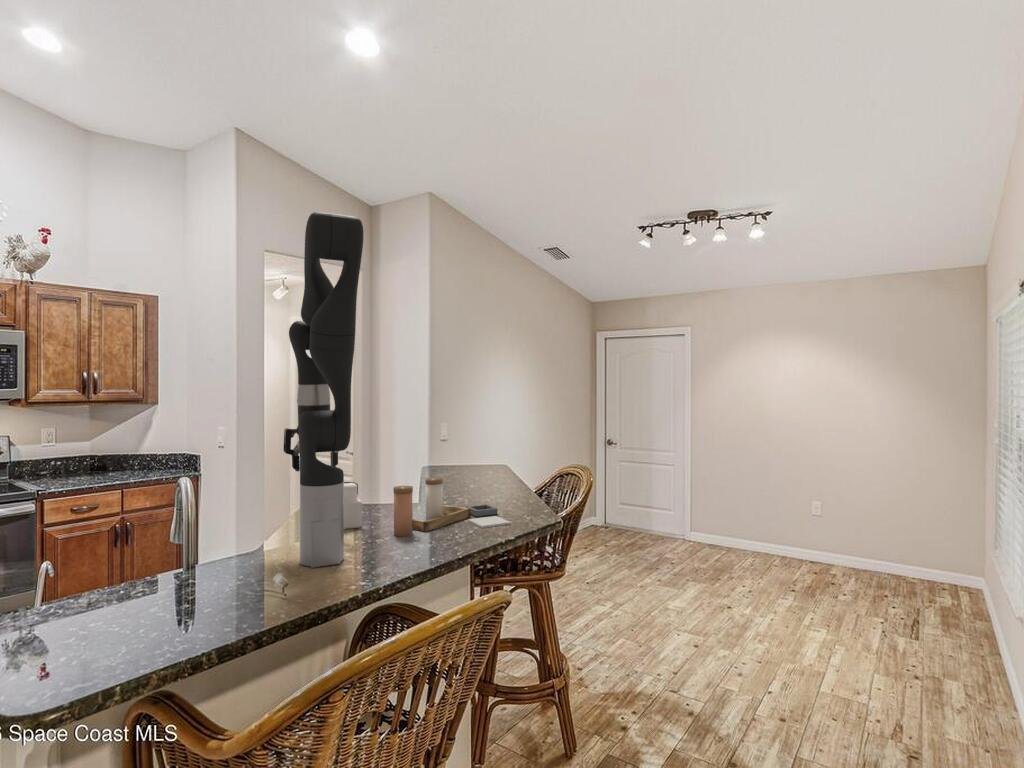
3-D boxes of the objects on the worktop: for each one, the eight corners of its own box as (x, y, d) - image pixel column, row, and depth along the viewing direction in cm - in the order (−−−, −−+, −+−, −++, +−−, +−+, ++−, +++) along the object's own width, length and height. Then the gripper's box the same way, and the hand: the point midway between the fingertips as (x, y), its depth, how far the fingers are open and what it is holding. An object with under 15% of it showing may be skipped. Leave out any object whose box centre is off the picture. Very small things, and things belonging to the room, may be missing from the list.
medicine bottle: (331, 524, 161) (331, 481, 162) (357, 522, 164) (357, 479, 165) (335, 530, 155) (335, 485, 155) (362, 527, 158) (362, 483, 158)
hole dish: (497, 515, 173) (497, 508, 173) (476, 517, 169) (476, 510, 169) (487, 510, 179) (487, 504, 179) (466, 513, 175) (466, 506, 175)
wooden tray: (470, 517, 170) (470, 508, 170) (426, 531, 153) (426, 522, 153) (444, 513, 175) (444, 505, 175) (399, 527, 158) (399, 518, 158)
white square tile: (510, 524, 161) (510, 522, 161) (481, 528, 157) (481, 525, 157) (495, 517, 169) (495, 515, 169) (467, 521, 165) (467, 519, 165)
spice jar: (445, 522, 164) (445, 479, 164) (428, 524, 161) (428, 480, 161) (439, 518, 168) (439, 476, 168) (422, 520, 166) (422, 478, 166)
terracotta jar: (415, 534, 150) (415, 487, 150) (396, 537, 148) (396, 489, 148) (409, 530, 154) (409, 485, 154) (391, 533, 152) (390, 486, 152)
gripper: (285, 405, 134) (287, 474, 134) (347, 402, 141) (349, 468, 142) (280, 403, 140) (282, 470, 141) (339, 401, 148) (341, 464, 148)
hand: (315, 469), depth 141 cm, fingers open, 8 cm apart
